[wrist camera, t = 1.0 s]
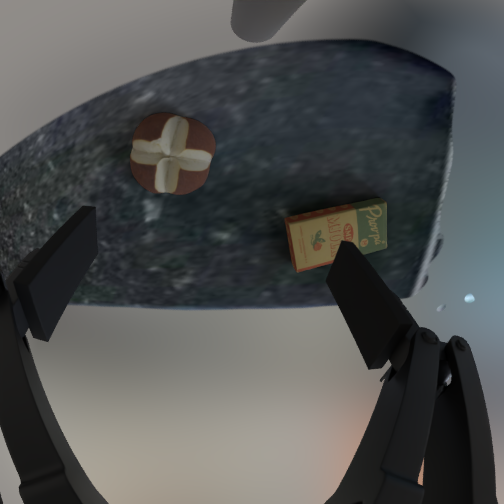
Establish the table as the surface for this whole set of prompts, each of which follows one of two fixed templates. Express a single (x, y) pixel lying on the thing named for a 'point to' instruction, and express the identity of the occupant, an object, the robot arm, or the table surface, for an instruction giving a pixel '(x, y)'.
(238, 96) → the table surface
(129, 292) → the table surface
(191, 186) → the bread
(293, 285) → the table surface
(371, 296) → the robot arm
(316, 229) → the carton
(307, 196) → the table surface
